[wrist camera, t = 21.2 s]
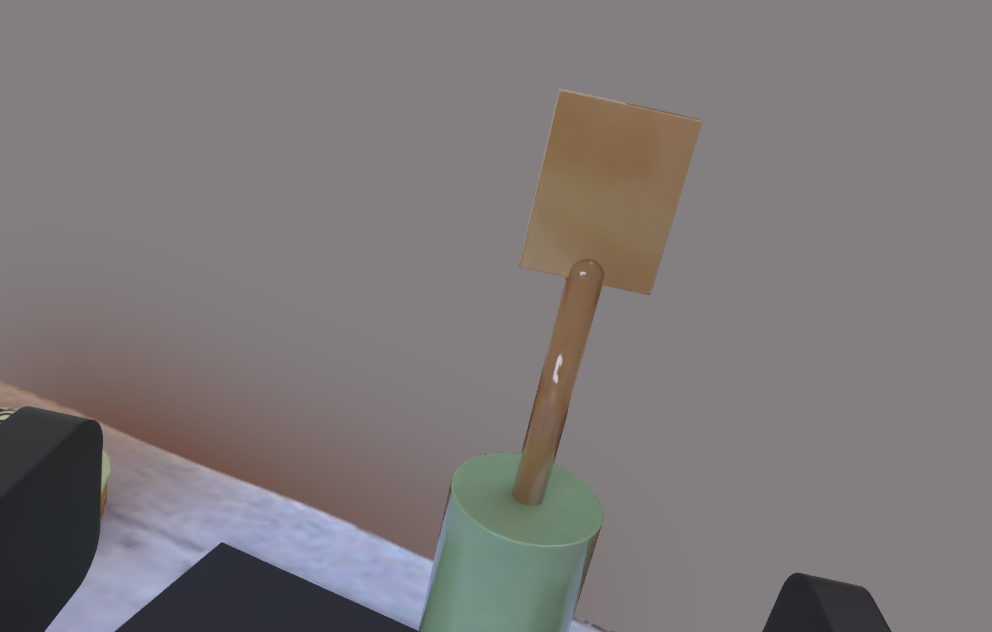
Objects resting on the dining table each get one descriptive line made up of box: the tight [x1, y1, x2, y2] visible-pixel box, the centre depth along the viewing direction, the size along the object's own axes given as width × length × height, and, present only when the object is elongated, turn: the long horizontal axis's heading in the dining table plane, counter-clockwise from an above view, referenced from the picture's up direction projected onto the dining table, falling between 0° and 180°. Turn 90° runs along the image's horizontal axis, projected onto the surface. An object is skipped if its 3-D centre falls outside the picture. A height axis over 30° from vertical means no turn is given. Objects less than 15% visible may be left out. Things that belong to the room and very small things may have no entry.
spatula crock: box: [418, 89, 702, 632], centre depth 26 cm, size 5×5×24 cm
